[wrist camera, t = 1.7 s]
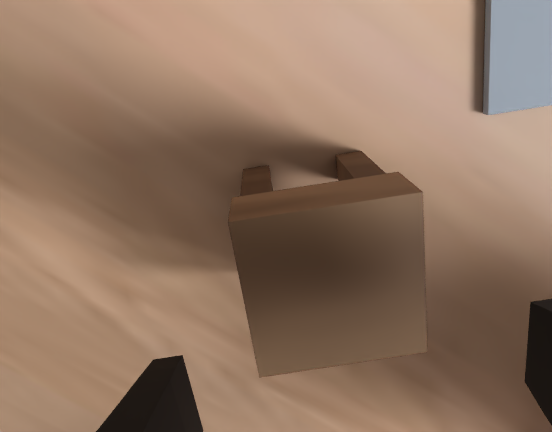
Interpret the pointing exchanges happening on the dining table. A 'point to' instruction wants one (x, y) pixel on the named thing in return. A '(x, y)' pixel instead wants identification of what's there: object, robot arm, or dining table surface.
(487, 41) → the felt mat
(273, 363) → the walnut stool
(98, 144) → the dining table surface
